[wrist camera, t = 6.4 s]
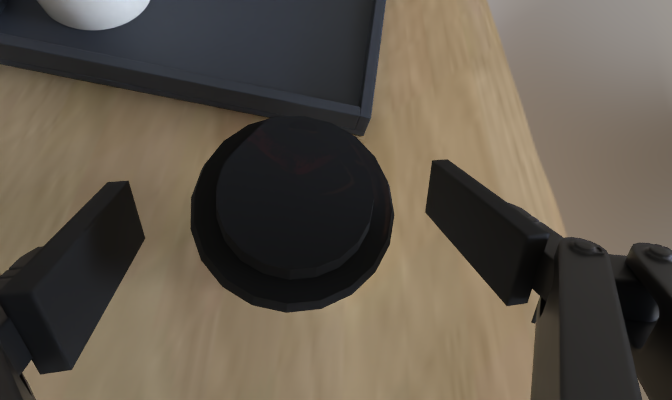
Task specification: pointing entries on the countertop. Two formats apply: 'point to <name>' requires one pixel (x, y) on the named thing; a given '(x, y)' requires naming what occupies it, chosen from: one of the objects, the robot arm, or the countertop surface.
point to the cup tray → (218, 54)
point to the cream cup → (93, 12)
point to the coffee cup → (292, 214)
